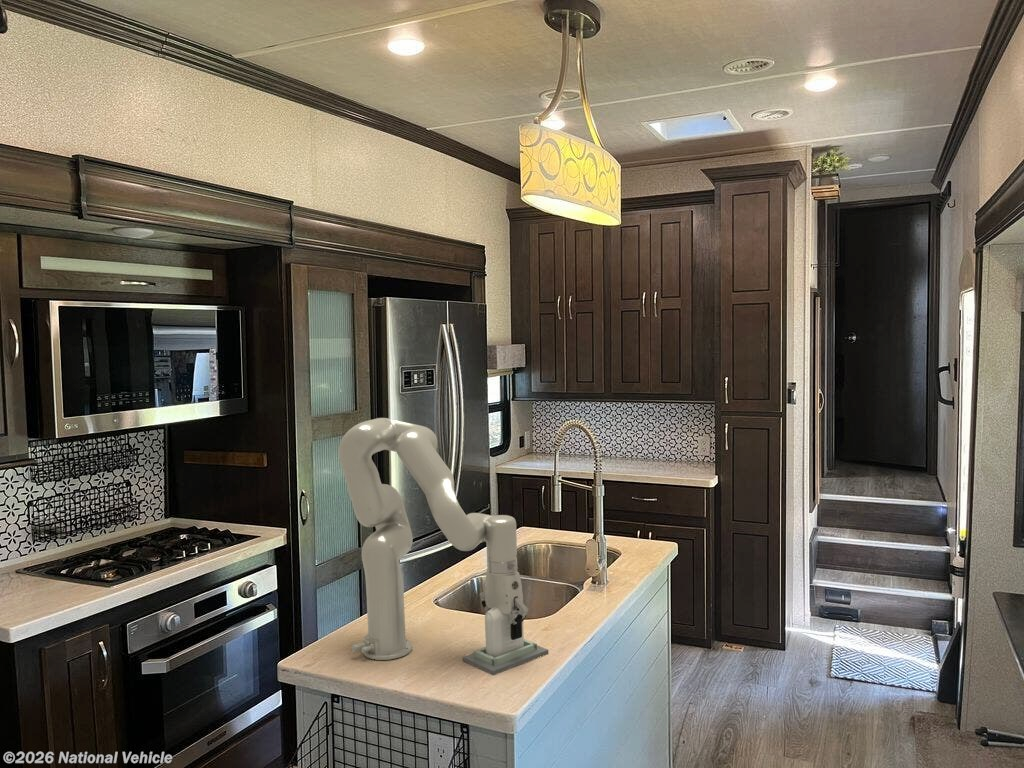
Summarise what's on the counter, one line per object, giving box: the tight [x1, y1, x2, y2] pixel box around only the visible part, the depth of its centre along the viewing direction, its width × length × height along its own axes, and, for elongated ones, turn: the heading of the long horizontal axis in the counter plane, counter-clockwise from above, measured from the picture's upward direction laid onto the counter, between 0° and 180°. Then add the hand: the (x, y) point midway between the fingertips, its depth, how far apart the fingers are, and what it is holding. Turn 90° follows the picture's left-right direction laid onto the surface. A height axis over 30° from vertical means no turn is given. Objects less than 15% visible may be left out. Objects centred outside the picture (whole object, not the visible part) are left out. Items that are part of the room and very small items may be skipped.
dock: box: [462, 638, 549, 676], centre depth 196 cm, size 18×12×2 cm, turn 131°
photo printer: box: [484, 607, 525, 658], centre depth 196 cm, size 10×4×12 cm, turn 125°
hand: (503, 633), depth 196 cm, fingers open, 9 cm apart
